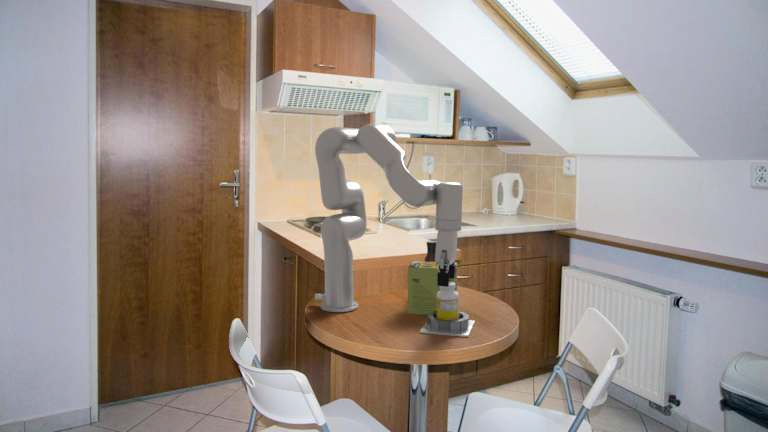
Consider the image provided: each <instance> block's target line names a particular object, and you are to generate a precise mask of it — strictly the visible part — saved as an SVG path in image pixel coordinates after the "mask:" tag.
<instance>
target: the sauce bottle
mask: <svg viewBox="0 0 768 432" xmlns="http://www.w3.org/2000/svg"><path fill="white" fill-rule="evenodd" d="M436 241H437V240H427V241H426V248H427V250H426V252H427V253H426V255H425V257H424V262H435V253H436Z"/></svg>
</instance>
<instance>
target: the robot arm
mask: <svg viewBox="0 0 768 432" xmlns="http://www.w3.org/2000/svg"><path fill="white" fill-rule="evenodd" d="M396 137H397V136H396V133H395V132H394V130H393V129H392V127H390V126H388V125H385V124H375V123H368V124H364V125H363V126H361V127H360V128H359V127H357V128H356V127H342V126H335V127H334V126H332V127H329V128H327V129H325V130H323V131H322V132H321V133H320V134H319V135H318V137H317V139H316V142H315V147H314V151H315V152H314V154H315V158H316V162H317V166H318V167H317V168H318V177H319V186H320V194H321V195H320V196H321V201H322V204H323V207H325V208H326V209H327V210H329V211H339V210H341V213H337V214H336V213H335V214H331V215H329V216H327V217H326V218H324V220H323V221H322V223H321V226H320V234H321V235H320V236H321V239H322V244H323V258H324V259H323V260H324V261H323V263H324V292H323V294H322V293H314V301H318V302H319V301H321V304H320V309H321V310H322V311H325V312H328V313H329V312H330V313H347V312H351V311H354V310H356V309H358V308H359V302H358V301H355V300H354V257H353V256H354V255H353V251H352V247H351V245H350V241H354V240H357V239H361V238H362V237H363V236H364V235H365V233H366V232H367V212H366V204H365V203H366V202H365V196H364V191H363V189H362V187H361V186H360V185H359V184H358V183H357V182H355V181H354V180H346V179H347V178H346V174H345V173H346V171H345V166H344V163H343V161H342V160H341V158H340V155H342V154H344V155H345V154H347V155H348V154H349V155H350V154H354V155H356V154H367V156H369V158H371V160H373V161H374V162H375V163H376V164H377V165H378V166H379V167H380V168H381V169H382V170H383V172H384V174H385V177H386V180H387V183H388V185H389V186H390V188H391V189H392V191H394V193H395V194H397V196H398V197H400V198H401V200H402V201H403V202H405V203H406V204H407V205H409V206H411V207H415V208H418V207H425V206H426V207H427V206H432V205H433V206H435V224H434V225H435V226H434V227H435V228H434V229H435V231H437V234H436V240H435V241H436V253H435V263H436V264H438V263H439V268H438V280H437V285H438V286H445V287H448V286H449V279H454V276H455V266H453V265H455V263H456V259H457V254H458V253H457V252H458V251H457V250H458V232H461V231H462V221H463V220H462V219H463V218H462V217H463V216H462V215H463V200H464V197H463V195H464V194H463V193H464V187H463V185H462V184H461V183H460V182H451V181H445V182H444V181H438V180H435V179H424V180H418V179H417V178H416V177H414V175H413V174H412V173H410V172H409V170H408V169H407V168H406V166H405V165H404V162H405V160H406V152H405V151H404V150H403V149H402V148H401V147H400V146H399V144H397V143H396V140H397V138H396Z"/></svg>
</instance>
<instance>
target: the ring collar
mask: <svg viewBox="0 0 768 432" xmlns="http://www.w3.org/2000/svg"><path fill="white" fill-rule="evenodd" d="M426 316H427V318H426V322H425V323H424V324H423V326H422V327H421V329H420V330H419V334H429V335H441V336H451V337H461V338H469V336H470V335H471V332H472V330H473V327H474V325H475V324H476V320H471V319H470V315H469V314H468V313H467V312H463V311H460V310H459V320H450V321H449V320H440V319H437V318H436V311H433V312H430V313H429V314H428V315H426Z"/></svg>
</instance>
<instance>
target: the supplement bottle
mask: <svg viewBox="0 0 768 432" xmlns="http://www.w3.org/2000/svg"><path fill="white" fill-rule="evenodd" d="M455 288H456V284H455V283H454V282H449V286H448V287H445V286H440V291H439V292H438V293H437V295H436V318H437V319H440V320H449V321H450V320H459V311H460V293H459V292H458V291H457V292H456V291H455Z"/></svg>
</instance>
